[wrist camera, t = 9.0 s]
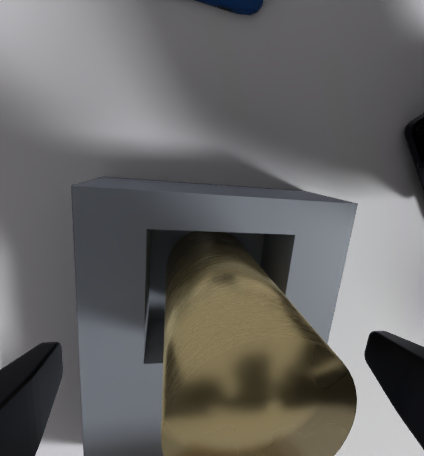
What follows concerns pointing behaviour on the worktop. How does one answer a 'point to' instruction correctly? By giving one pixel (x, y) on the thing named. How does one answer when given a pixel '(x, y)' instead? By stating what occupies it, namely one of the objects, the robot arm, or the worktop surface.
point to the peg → (244, 361)
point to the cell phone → (236, 5)
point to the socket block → (156, 282)
